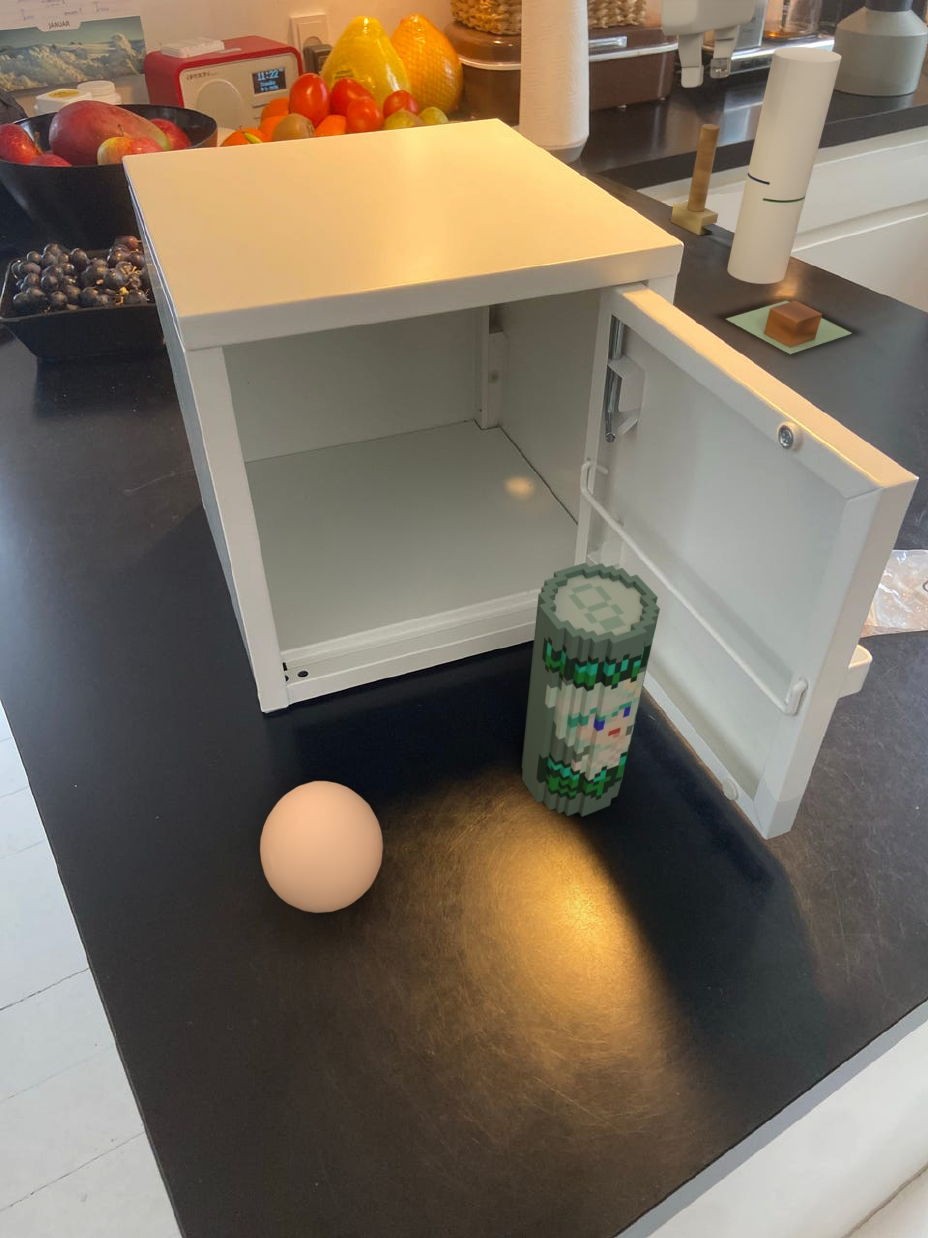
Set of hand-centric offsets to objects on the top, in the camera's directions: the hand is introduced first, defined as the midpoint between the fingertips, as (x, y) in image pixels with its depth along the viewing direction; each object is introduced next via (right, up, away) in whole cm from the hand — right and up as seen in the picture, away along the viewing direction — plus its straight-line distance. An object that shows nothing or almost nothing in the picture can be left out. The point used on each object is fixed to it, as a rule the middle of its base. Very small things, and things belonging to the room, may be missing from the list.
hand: (706, 81), depth 95 cm
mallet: (+7, 0, +34) cm, 35 cm away
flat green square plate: (+12, -23, +10) cm, 28 cm away
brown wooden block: (+11, -24, +7) cm, 28 cm away
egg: (-33, -71, -42) cm, 89 cm away
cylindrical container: (+12, -13, +21) cm, 27 cm away
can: (-18, -66, -36) cm, 78 cm away
